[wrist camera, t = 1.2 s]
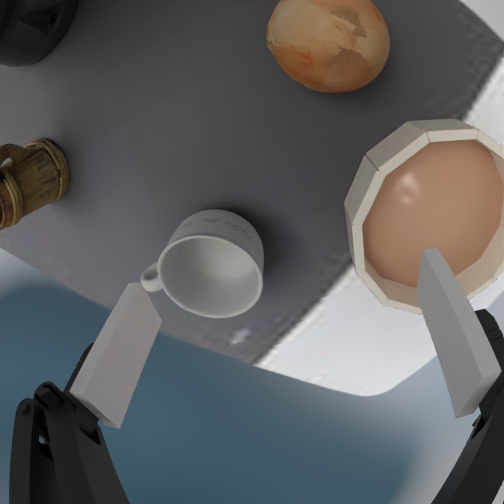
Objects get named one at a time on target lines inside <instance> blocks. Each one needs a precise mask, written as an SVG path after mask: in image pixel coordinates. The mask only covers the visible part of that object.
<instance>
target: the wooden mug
mask: <svg viewBox="0 0 504 504" xmlns="http://www.w3.org/2000/svg"><path fill="white" fill-rule="evenodd" d="M7 158H11V160H10V161H8V162H7V163H6V164H5V165H3V166H2V167H0V230H2V229H4V228H5V227H11V226H13V225H15V224H17V223H18V222H19V221H20V219H21V218H23V217H24V216H26V215H28V214H30V213H31V212H33V211H35V210H37V209H39V208H41V207H43V206H45V205H46V204H50V203H53V202H55V201H57V200H59V199H61V198H62V197H63V196H64V195H65V194H66V193H67V190H68V187H69V179H70V177H69V169H68V164H67V161H66V159H65V156H64V154H63V153H62V151H61V150H60V149H59V148H58V147H57V146H56V145H54V144H53V143H51V142H49V141H48V140H46V139H38V140H35V141H33V142H31V143H29V144H27V145H26V146H25V147H24V148H23V147H20V146H18V145H14V144H6V145H2V146H0V166H1V164H2V163H3V161H4V160H5V159H7Z"/></svg>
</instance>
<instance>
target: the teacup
mask: <svg viewBox="0 0 504 504" xmlns="http://www.w3.org/2000/svg"><path fill="white" fill-rule="evenodd" d="M263 266H264V252H263V246H262V242H261V239H260V237H259V235H258V233H257V231H256V230H255V229H254V227H253V226H252V225H251V224H250V223H249V222H248V221H247V220H245V219H244V218H242V217H241V216H239V215H237V214H235V213H232V212H229V211H226V210H219V209H210V210H203V211H200V212H197V213H195V214H193V215H191V216H189V217H188V218H186V219H185V220H184V221H183V222H182V223H181V224H180V225H179V226H178V228H177V229H176V231H175V232H174V234H173V235H172V237H171V239H170V241H169V243H168V245H167V246H166V248H165V249H164V250H163V252H162V253H161V255H160V257H159V260H158V262H156V263H154V264H152V265H151V266H149V267H148V268H147V269H146V270H145V271H144V272H143V273H142V275H141V283H142V285H143V287H144V288H145V289H146V290H147V291H150V292H155V291H158V290H161V289H164V291H165V292H166V294H167V295H168V296H169V297H170V298H171V299H172V300H173V301H174V302H175V303H177V304H178V305H179V306H180V307H182V308H184V309H186V310H187V311H190V312H192V313H195V314H197V315H201V316H205V317H212V318H227V317H233V316H236V315H239V314H242V313H244V312H246V311H247V310H249V309H250V308H252V307H253V306H254V305H255V304H256V302H257V301H258V300H259V298H260V296H261V293H262V289H263ZM157 275H158V277H156V276H157ZM155 277H156V278H155Z"/></svg>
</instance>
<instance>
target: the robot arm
mask: <svg viewBox="0 0 504 504" xmlns="http://www.w3.org/2000/svg"><path fill="white" fill-rule="evenodd" d="M77 2H78V0H0V64H3V65H6V66H9V67H17V66H23V65H28V64H32V63H35V62H37V61H39V60H40V59H42V58H43V57H45V56H46V55H47V54H48V53H49V52H50V51H51V50H52V49H53V48H54V47H55V46H56V45H57V44H58V42H59V41H60V40H61V38H62V37H63V35H64V34H65V32H66V30H67V28H68V26H69V24H70V22H71V20H72V18H73V15H74V12H75V9H76V6H77ZM416 298H417V301H418V303H419V306H420V308H421V311H422V313H423V316H424V319H425V321H426V324H427V327H428V329H429V332H430V335H431V338H432V341H433V343H434V346H435V349H436V352H437V355H438V358H439V361H440V364H441V368H442V371H443V374H444V377H445V381H446V384H447V387H448V391H449V394H450V398H451V402H452V406H453V409H454V413H455V417H456V418H459V417H462V416H465V415H468V414H472V413H474V411H475V410H476V409H477V407H478V406H479V408H480V411H481V414H480V415H479V416H478V418H477V419H476V420H475V422H474V423H473V424H472V426H474V429H473V431H472V433H471V435H470V437H469V439H468V441H467V443H466V445H465V447H464V449H463V451H462V453H461V455H460V457H459V459H458V461H457V462H456V464H455V466H454V468H453V469H452V471H451V473H450V474H449V476H448V478H447V480H446V481H445V483H444V484H443V486H442V488H441V489H440V491H439V492H438V494H437V496H436V497H435V499H434V500H433V501H432V503H431V504H492V502H493V500H494V499H495V497H496V495H497V493H498V491H499V488H500V486H501V485H502V482H503V480H504V338H503V334H502V332H501V330H499V326H498V324H497V322H496V321H495V318H494V317H493V316H492V315H491V314H490V313H489V312H488V311H487V310H486V309H481V310H477V311H474V310H473V308H472V306H471V304H470V302H469V301H468V299H467V297H466V295H465V293H464V291H463V290H462V288H461V286H460V284H459V282H458V281H457V279H456V277H455V276H454V274H453V272H452V270H451V269H450V267H449V265H448V264H447V262H446V261H445V259H444V257H443V256H442V254H441V252H440V251H439V249H438V248H430V249H423V250H422V256H421V265H420V273H419V280H418V287H417V294H416ZM161 323H162V320H161V319H160V317H159V315H158V313H157V311H156V309H155V308H154V306H153V304H152V302H151V300H150V298H149V296H148V295H147V293H146V291H145V289H144V287H143V285H142V283H141V282H138V283H129V284H128V286H127V287H126V289H125V291H124V292H123V294H122V296H121V297H120V299H119V301H118V302H117V304H116V306H115V307H114V309H113V311H112V313H111V314H110V316H109V318H108V320H107V321H106V323H105V325H104V327H103V328H102V330H101V332H100V334H99V336H98V338H97V339H96V341H95V343H91V344H90V345H89V347H88V348H87V349H86V350H85V351H84V353H83V355H82V356H81V358H80V361H79V362H78V364H77V366H76V367H77V368H75V370H74V372H73V373H72V375H71V377H70V380H69V381H68V383H67V385H66V387H65V389H64V391H63V393H62V392H61V391H60V390H59V389H58V388H57V387H56V386H55V385H54V384H53V383H52V382H44V383H42V384H41V385H40V386H39V387H38V388H37V389H36V391H35V393H34V397H33V399H31V398H26V399H24V400H22V401H21V402H20V403H19V405H18V407H17V410H16V416H15V422H14V430H13V439H12V449H11V461H10V483H9V504H130V503H129V501H128V499H127V497H126V494H125V492H124V490H123V488H122V485H121V483H120V481H119V478H118V475H117V473H116V470H115V468H114V465H113V463H112V460H111V458H110V454H109V452H108V449H107V446H106V443H105V440H104V437H103V434H102V431H101V428H100V427H99V426H98V424H97V423H98V421H99V420H100V421H102V422H103V423H104V424H105V425H106V426H110V427H114V428H119V429H120V427H121V424H122V421H123V418H124V416H125V413H126V410H127V408H128V405H129V402H130V400H131V397H132V395H133V392H134V389H135V387H136V384H137V382H138V379H139V376H140V374H141V372H142V369H143V366H144V364H145V362H146V359H147V356H148V354H149V351H150V349H151V347H152V344H153V342H154V339H155V337H156V335H157V332H158V330H159V328H160V325H161ZM39 436H40V437H41V438H43V439H44V443H43V444H42V443H40V442H39ZM503 504H504V502H503Z"/></svg>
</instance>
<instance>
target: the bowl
mask: <svg viewBox="0 0 504 504" xmlns="http://www.w3.org/2000/svg"><path fill="white" fill-rule="evenodd" d="M366 155H367V156H366ZM366 155H364V157H363V159H362V162H361V164H360V167H359V169H358V171H357V174H356V176H355V178H354V181H353V183H352V185H351V188H350V190H349V192H348V194H347V197H346V199H345V201H344V208H345V216H346V224H347V233H348V242H349V249H350V253H351V257H352V260H353V264H354V268H355V272H356V275H357V276H358V277H359V278H360V279H361V280H362V282H363V283H364V284H365V285H366V286H367V287H368V289H369V290H370V291H371V292H372V293H373V294H374V296H375V297H376V298H377V299H378V300H379V301H380V303H381V304H383V305H385V306H389V307H393V308H396V309H400V310H404V311H408V312H411V313H415V314H423V313H422V311H421V308H420V306H419V303H418V301H417V298H416V294H417V287H418V280H419V273H420V265H421V256H422V250H423V249H430V248H438V249H439V251H440V252H441V254H442V256H443V257H444V259H445V261H446V262H447V264H448V265H449V267H450V269H451V270H452V272H453V274H454V276H455V277H456V279H457V281H458V282H459V284H460V286H461V288H462V290H463V291H464V293H465V295H466V297H467V299H468V300H470V299H471V298H473V297H474V296H475V295H477V294H478V293H480V292H481V291H483V290H484V289H485V288H487V287H488V286H489V285H491V284H492V283H494V282H495V280H497V278H498V277H499V275H500V274H501V272H502V271H503V270H504V148H503V147H502V146H501V145H500V144H498V143H497V142H496V141H494V140H493V139H492V138H490V137H489V136H487V135H486V134H485V133H483V132H482V131H481V130H479V129H477V128H475V127H473V126H470V125H468V124H466V123H464V122H461V121H459V120H457V119H434V120H418V121H408V122H406V123H404V124H403V125H402V126H401V127H399V128H398V129H397V130H395V131H394V132H393V133H391V134H390V135H389V136H387V137H386V138H385V139H384V140H382V141H381V142H380V143H378V144H377V145H376V146H374V147H373V148H372V149H371V150H369V151H368V152H367V153H366Z"/></svg>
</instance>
